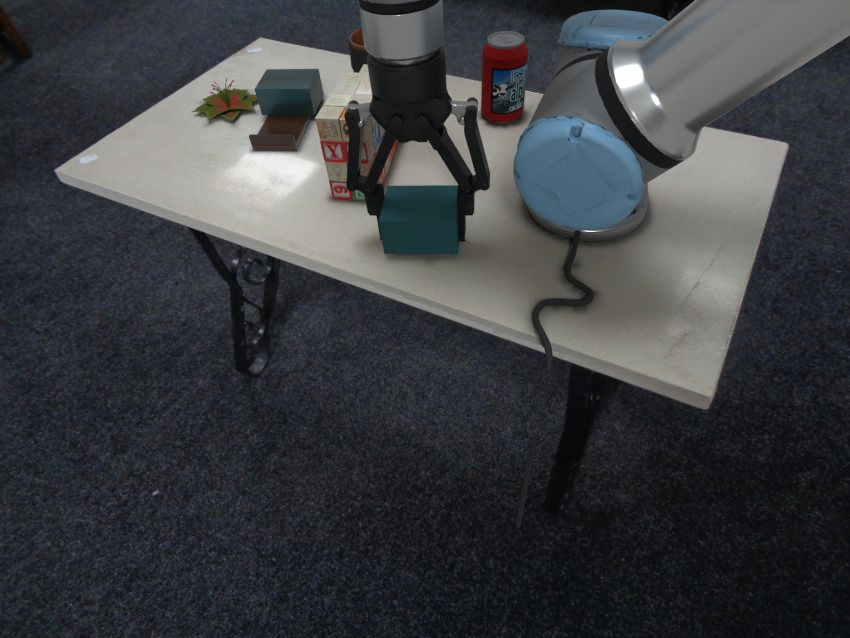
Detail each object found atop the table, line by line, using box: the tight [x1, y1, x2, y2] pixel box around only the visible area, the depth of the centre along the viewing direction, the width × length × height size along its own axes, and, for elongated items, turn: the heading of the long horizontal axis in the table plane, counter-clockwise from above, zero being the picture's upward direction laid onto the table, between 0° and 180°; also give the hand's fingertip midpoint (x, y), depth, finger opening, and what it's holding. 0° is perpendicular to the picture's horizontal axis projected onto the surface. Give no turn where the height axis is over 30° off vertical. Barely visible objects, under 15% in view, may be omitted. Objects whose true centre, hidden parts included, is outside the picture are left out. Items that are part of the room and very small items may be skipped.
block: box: [379, 184, 460, 255], centre depth 68 cm, size 7×9×5 cm
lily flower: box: [191, 78, 258, 122], centre depth 95 cm, size 12×12×5 cm
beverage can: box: [480, 30, 529, 124], centre depth 85 cm, size 7×7×12 cm
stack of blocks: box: [314, 64, 399, 202], centre depth 79 cm, size 21×6×12 cm, turn 169°
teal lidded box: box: [248, 68, 325, 152], centre depth 90 cm, size 17×9×6 cm, turn 174°
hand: (423, 233), depth 69 cm, fingers closed on block, 9 cm apart
